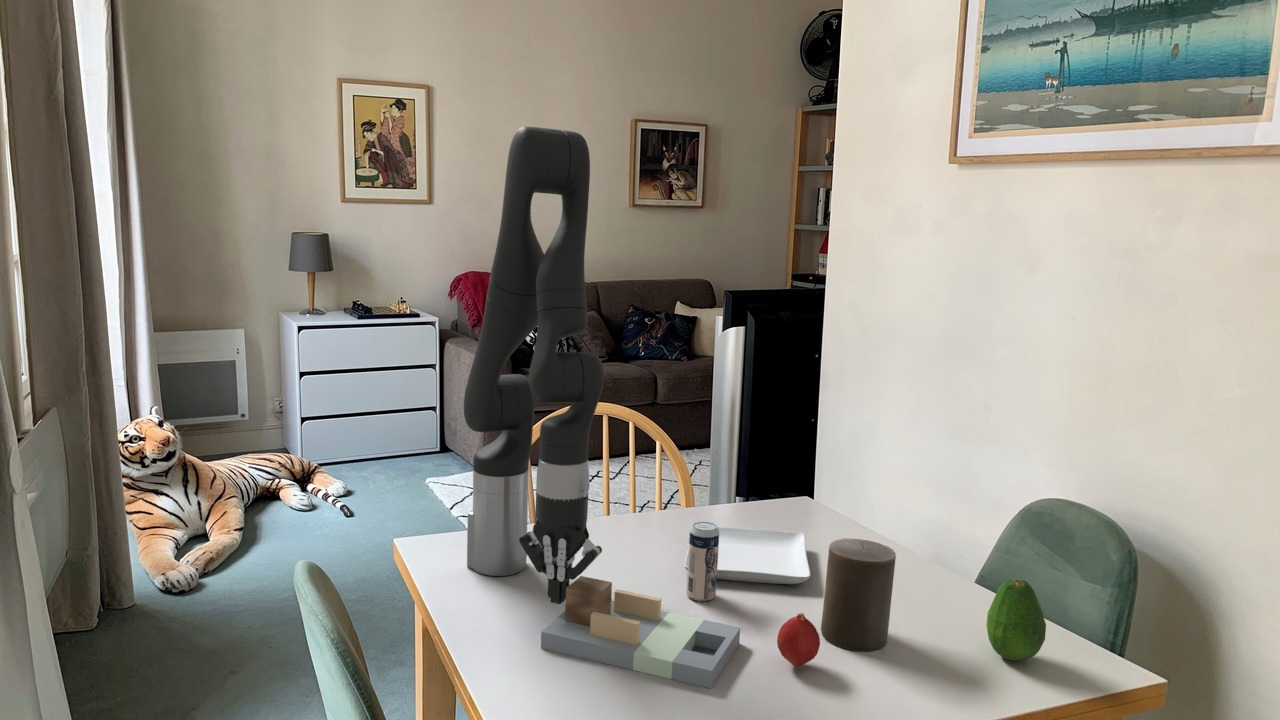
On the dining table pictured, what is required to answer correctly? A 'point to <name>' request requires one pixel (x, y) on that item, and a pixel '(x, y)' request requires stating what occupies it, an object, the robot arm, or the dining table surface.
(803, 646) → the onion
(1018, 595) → the avocado
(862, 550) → the pillar candle
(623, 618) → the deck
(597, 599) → the block
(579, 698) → the dining table surface
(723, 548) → the salad plate
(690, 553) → the beer can
